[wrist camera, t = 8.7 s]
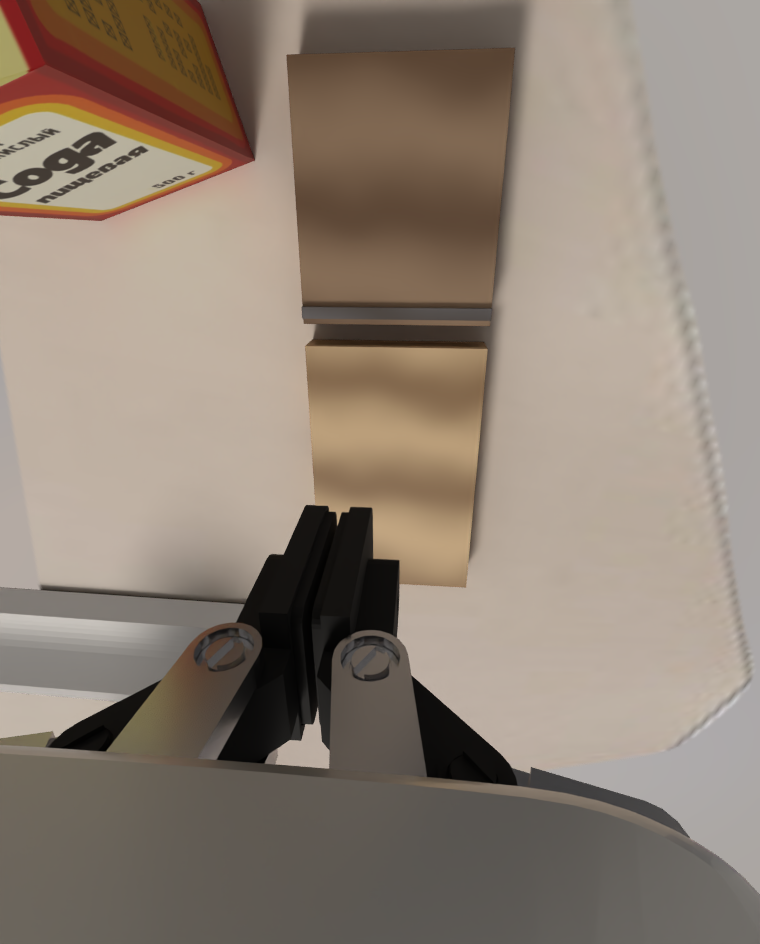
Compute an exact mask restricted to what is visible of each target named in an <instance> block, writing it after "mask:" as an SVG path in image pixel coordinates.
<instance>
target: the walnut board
mask: <svg viewBox="0 0 760 944" xmlns="http://www.w3.org/2000/svg"><path fill="white" fill-rule="evenodd" d="M514 54H515V48H492V49H458V50H425V51H392V52H359V53H326V54H293V55H287V70H288V85H289V101H290V117H291V132H292V148H293V163H294V179H295V195H296V210H297V226H298V241H299V257H300V273H301V288H302V304H303V306H302V319H303V320H304V324H368V325H447V326H490V321H491V314H492V308H491V307H492V296H493V285H494V274H495V263H496V252H497V241H498V230H499V219H500V208H501V197H502V186H503V175H504V164H505V153H506V142H507V131H508V120H509V109H510V98H511V87H512V76H513V65H514Z"/></svg>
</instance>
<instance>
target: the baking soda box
mask: <svg viewBox="0 0 760 944" xmlns="http://www.w3.org/2000/svg"><path fill="white" fill-rule="evenodd" d="M254 160H255V159H254V157H253V154H252V151H251V148H250V145H249V142H248V139H247V136H246V134H245V131H244V128H243V125H242V122H241V119H240V116H239V113H238V111H237V108H236V105H235V102H234V99H233V96H232V93H231V90H230V88H229V85H228V82H227V79H226V76H225V73H224V70H223V67H222V65H221V62H220V59H219V56H218V53H217V50H216V47H215V44H214V42H213V39H212V36H211V33H210V30H209V27H208V24H207V22H206V19H205V16H204V13H203V10H202V7H201V4H200V3H199V2H198V1H197V0H0V215H4V216H22V217H40V218H58V219H76V220H94V221H102V220H105V219H107V218H110V217H112V216H115V215H117V214H120V213H122V212H125V211H128V210H130V209H133V208H135V207H138V206H140V205H143V204H145V203H148V202H150V201H153V200H155V199H158V198H161V197H163V196H166V195H168V194H171V193H173V192H176V191H178V190H181V189H183V188H186V187H188V186H191V185H194V184H196V183H199V182H201V181H204V180H206V179H209V178H211V177H214V176H216V175H219V174H221V173H224V172H227V171H229V170H232V169H234V168H237V167H239V166H242V165H244V164H247V163H249V162H252V161H254Z"/></svg>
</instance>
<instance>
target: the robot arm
mask: <svg viewBox="0 0 760 944" xmlns="http://www.w3.org/2000/svg"><path fill="white" fill-rule="evenodd" d="M399 580H400V561H399V560H389V559H373V509H372V507H350V510H349V512H342V513H341V516H340V519H339V523H338V526H337V514H336V512H329V507H328V506H317V505H306V506H305V508H304V510H303V512H302V514H301V517H300V519H299V521H298V524H297V526H296V528H295V530H294V533H293V535H292V537H291V539H290V542H289V544H288V546H287V548H286V551H285V553H284V555H277V554H271V555H269V557H268V558H267V560H266V562H265V564H264V566H263V568H262V570H261V572H260V574H259V576H258V578H257V580H256V582H255V584H254V586H253V588H252V590H251V592H250V594H249V597H248V599H247V601H246V603H245V605H244V607H243V609H242V611H241V613H240V615H239V617H238V619H237V621H236V623H233V622H231V623H225V624H219V625H217V626H214V627H211V628H209V629H207V630H206V631H204V632H202V633H201V634H199V635H198V636H197V637H196V638H195V639H194V640H193V641H192V642H191V643H190V644H189V646H188V647H187V648H186V650H185V651H184V652H183V653H182V655H181V656H180V657H179V658H178V660H177V661H176V662H175V664H174V665H173V666H172V667H171V669H170V670H169V671H168V673H167V674H166V675H165V676H164V678H163V679H162V680H160V681H158V682H156V683H154V684H152V685H150V686H148V687H146V688H144V689H142V690H140V691H138V692H136V693H135V694H133V695H131V696H129V697H127V698H125V699H123V700H121V701H119V702H117V703H115V704H113V705H111V706H109V707H107V708H105V709H104V710H102V711H100V712H98V713H96V714H94V715H92V716H90V717H88V718H86V719H84V720H82V721H80V722H78V723H77V724H75V725H74V726H72V727H70V728H69V729H67V730H66V731H64V732H63V733H62V734H61V735H60V736H59V737H56V738H55V736H54V733H53V731H52V732H45V733H37V734H30V735H23V736H15V737H8V738H1V739H0V944H760V894H759V893H758V892H757V891H756V890H755V889H754V888H753V887H752V886H751V885H750V884H749V882H747V880H746V879H745V878H744V877H743V876H742V875H740V874H739V873H738V872H737V871H736V870H735V869H734V868H733V867H731V866H730V865H729V864H728V863H726V862H725V861H724V860H722V859H721V858H720V857H719V856H717V855H716V854H714V853H712V852H711V851H709V850H708V849H706V848H705V847H703V846H702V845H700V844H698V843H697V842H695V841H693V840H691V839H690V837H689V836H688V835H687V833H686V832H685V831H684V830H683V828H682V827H681V825H680V824H679V823H678V821H676V820H675V819H674V818H672V817H671V816H670V815H669V814H668V813H667V812H665V811H664V810H663V809H661V808H659V807H657V806H655V805H653V804H651V803H648V802H646V801H643V800H640V799H637V798H633V797H630V796H626V795H623V794H619V793H616V792H613V791H610V790H606V789H603V788H599V787H596V786H593V785H589V784H586V783H582V782H579V781H576V780H572V779H569V778H566V777H562V776H559V775H556V774H552V773H549V772H546V771H542V770H539V769H535V768H532V767H531V770H530V773H526V772H523V771H520V770H516V769H513V768H511V766H510V764H509V763H508V762H507V761H506V760H505V759H504V757H503V756H502V755H501V754H500V753H499V752H498V751H497V750H495V749H494V748H493V747H492V746H491V745H490V744H489V743H488V742H486V741H485V740H484V739H483V738H482V737H481V736H480V735H478V734H477V733H476V732H475V731H474V730H473V729H472V728H471V727H469V726H468V725H467V724H466V723H465V722H464V721H463V720H461V719H460V718H459V717H458V716H457V715H456V714H455V713H454V712H452V711H451V710H450V709H449V708H448V707H447V706H446V705H444V704H443V703H442V702H441V701H440V700H439V699H438V698H437V697H435V696H434V695H433V694H432V693H431V692H430V691H429V690H427V689H426V688H425V687H424V686H423V685H422V684H421V683H420V682H418V681H417V680H416V679H415V678H414V677H413V676H412V675H411V670H410V664H409V657H408V653H407V651H406V648H405V646H404V645H403V644H402V642H401V641H400V640H399V639H398V638H397V627H398V611H399ZM317 708H318V710H319V722H320V725H321V735H322V742H323V743H324V744H325V745H326V747H327V748H328V749H329V750H330V759H329V769H324V768H312V767H300V766H287V765H275V763H276V760H277V756H278V751H277V748H279V747H280V746H281V745H283V744H284V743H286V742H287V741H289V740H299V741H301V739H302V735H303V731H304V727H305V724H313V723H314V720H315V717H316V712H317Z"/></svg>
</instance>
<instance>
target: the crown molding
mask: <svg viewBox="0 0 760 944" xmlns="http://www.w3.org/2000/svg"><path fill="white" fill-rule="evenodd" d="M244 605H245V604H233V603H219V602H204V601H190V600H175V599H161V598H147V597H132V596H118V595H103V594H89V593H74V592H60V591H46V590H30V589H17V588H2V587H0V692H11V693H22V694H34V695H46V696H58V697H69V698H81V699H93V700H104V701H116V702H119V701H121V700H123V699H125V698H127V697H129V696H131V695H133V694H135V693H136V692H138V691H140V690H142V689H144V688H146V687H148V686H150V685H152V684H154V683H156V682H158V681H160V680H162V679H163V678H164V676H165V675H166V674H167V673H168V671H169V670H170V669H171V667H172V666H173V665H174V664H175V662H176V661H177V660H178V658H179V657H180V656H181V655H182V653H183V652H184V651H185V650H186V648H187V647H188V646H189V644H190V643H191V642H192V641H193V640H194V639H195V638H196V637H197V636H198V635H199V634H201V633H202V632H204V631H206V630H207V629H209V628H211V627H214V626H217V625H219V624H225V623H231V622H233V623H236V621H237V619H238V617H239V615H240V613H241V611H242V609H243V607H244Z"/></svg>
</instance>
